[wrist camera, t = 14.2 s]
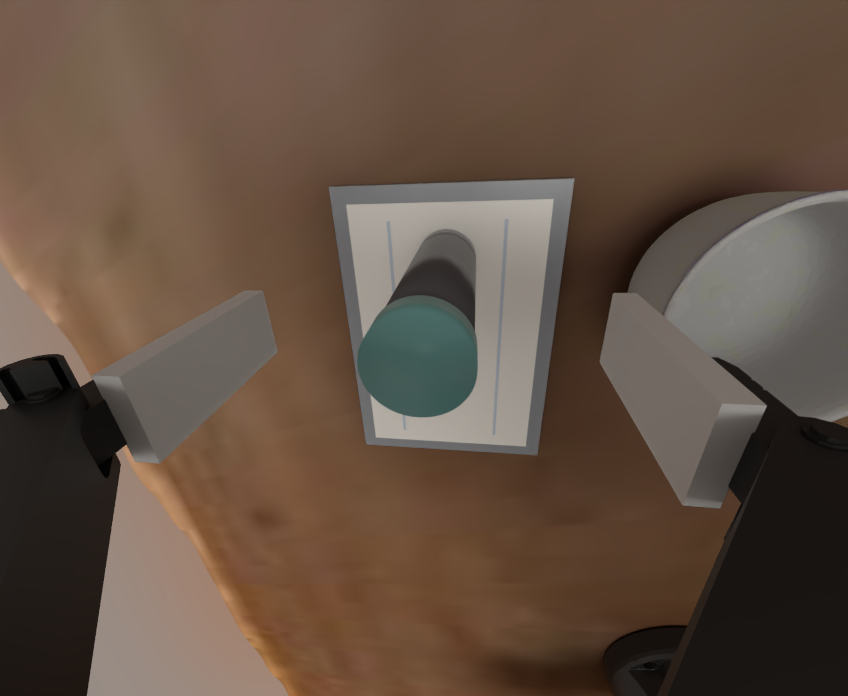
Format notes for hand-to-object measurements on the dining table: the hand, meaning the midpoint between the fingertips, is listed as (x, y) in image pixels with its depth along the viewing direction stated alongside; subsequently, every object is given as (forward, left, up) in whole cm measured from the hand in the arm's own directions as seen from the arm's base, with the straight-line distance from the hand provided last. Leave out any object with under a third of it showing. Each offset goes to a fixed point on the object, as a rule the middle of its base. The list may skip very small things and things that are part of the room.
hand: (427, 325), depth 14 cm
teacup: (-2, -17, -11) cm, 20 cm away
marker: (0, 0, -10) cm, 10 cm away
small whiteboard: (-6, 0, -11) cm, 12 cm away
